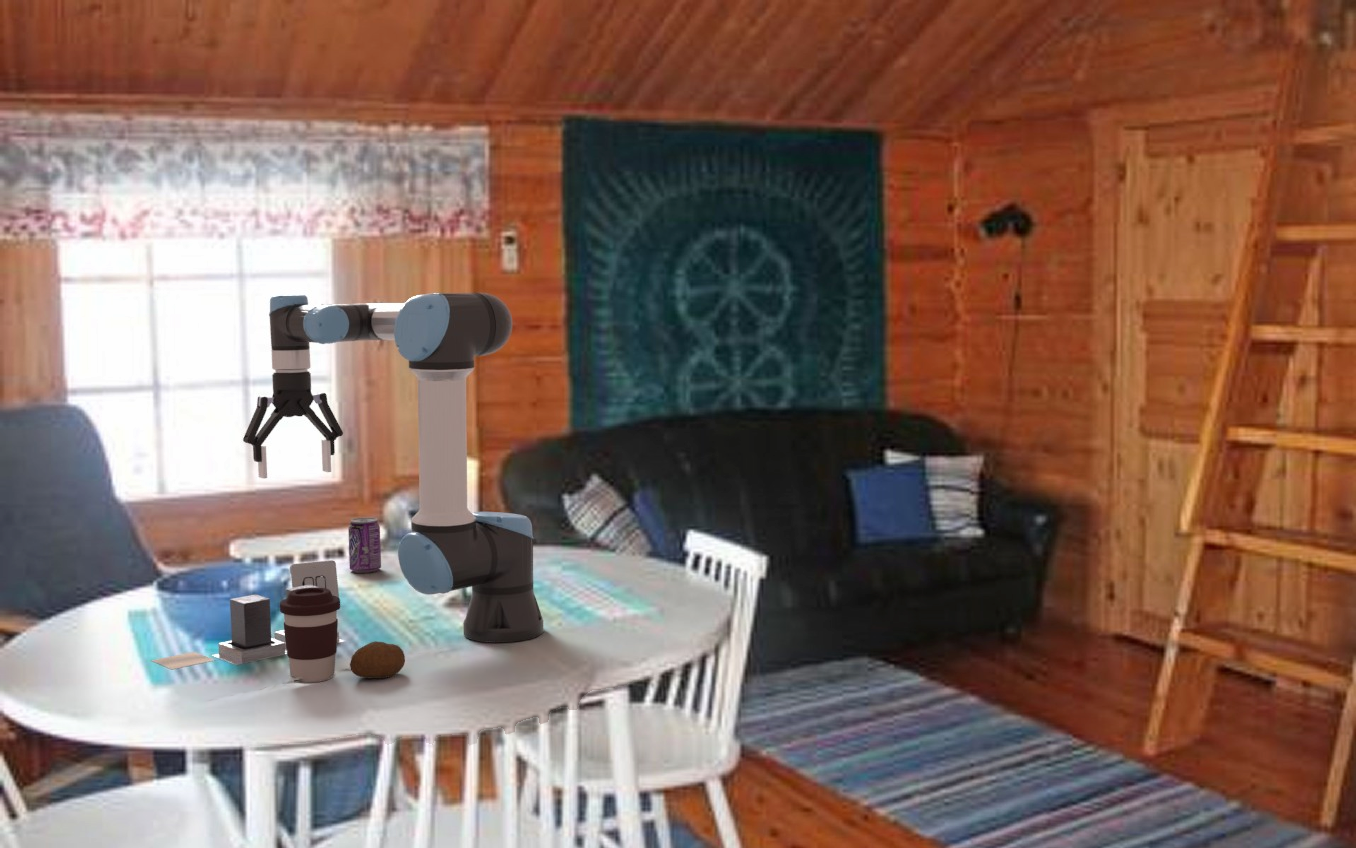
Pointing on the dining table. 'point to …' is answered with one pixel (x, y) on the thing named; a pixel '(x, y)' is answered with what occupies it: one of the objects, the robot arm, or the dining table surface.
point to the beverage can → (364, 545)
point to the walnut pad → (183, 660)
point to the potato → (377, 660)
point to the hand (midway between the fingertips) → (295, 474)
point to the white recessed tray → (255, 650)
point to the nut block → (250, 621)
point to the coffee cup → (311, 633)
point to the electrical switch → (315, 575)
